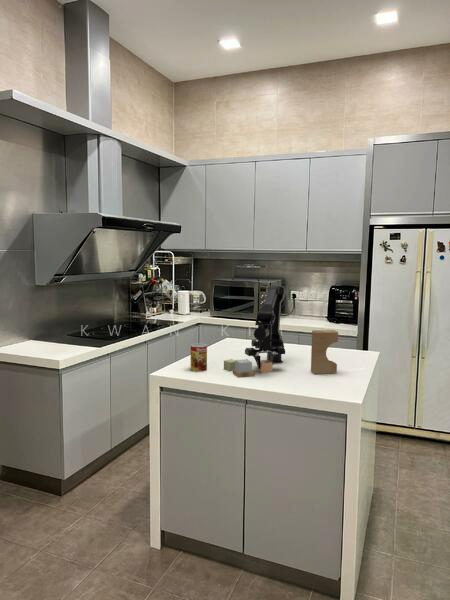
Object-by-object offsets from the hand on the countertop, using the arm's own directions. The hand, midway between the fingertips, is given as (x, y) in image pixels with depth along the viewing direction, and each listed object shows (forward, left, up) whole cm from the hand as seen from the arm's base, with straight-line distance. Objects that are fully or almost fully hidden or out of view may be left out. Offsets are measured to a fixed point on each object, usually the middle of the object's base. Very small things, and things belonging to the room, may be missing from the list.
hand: (264, 368), depth 212 cm
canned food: (+30, -10, -1) cm, 32 cm away
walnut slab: (+12, +4, -2) cm, 13 cm away
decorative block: (-26, +10, -1) cm, 28 cm away
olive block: (+15, -6, -1) cm, 16 cm away
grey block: (+12, +4, +1) cm, 13 cm away
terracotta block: (0, 0, -1) cm, 1 cm away
